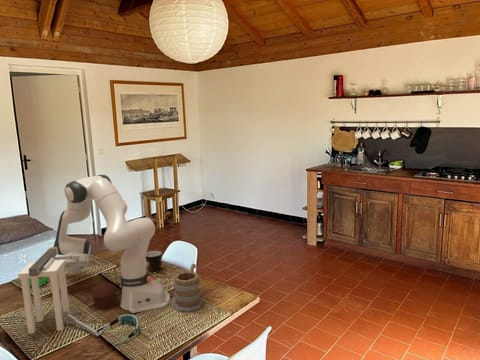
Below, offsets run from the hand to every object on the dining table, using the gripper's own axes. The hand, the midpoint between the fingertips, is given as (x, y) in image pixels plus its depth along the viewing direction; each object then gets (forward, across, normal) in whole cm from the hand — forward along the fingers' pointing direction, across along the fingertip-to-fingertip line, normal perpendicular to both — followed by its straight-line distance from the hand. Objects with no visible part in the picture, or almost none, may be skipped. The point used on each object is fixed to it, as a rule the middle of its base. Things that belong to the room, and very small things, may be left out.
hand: (61, 257), depth 176 cm
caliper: (+13, +14, +33) cm, 38 cm away
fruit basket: (-28, -21, +8) cm, 36 cm away
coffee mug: (-32, +40, +6) cm, 51 cm away
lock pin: (+19, 0, +6) cm, 20 cm away
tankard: (0, +59, +25) cm, 64 cm away
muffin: (-3, +20, +23) cm, 31 cm away
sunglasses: (+18, +31, +36) cm, 51 cm away
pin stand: (+8, 0, +29) cm, 30 cm away
